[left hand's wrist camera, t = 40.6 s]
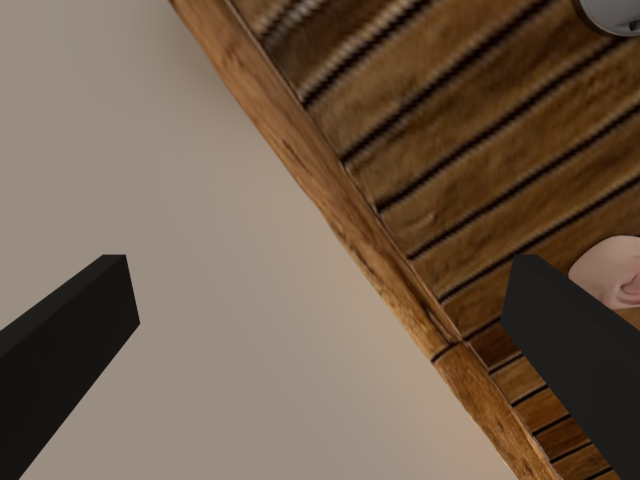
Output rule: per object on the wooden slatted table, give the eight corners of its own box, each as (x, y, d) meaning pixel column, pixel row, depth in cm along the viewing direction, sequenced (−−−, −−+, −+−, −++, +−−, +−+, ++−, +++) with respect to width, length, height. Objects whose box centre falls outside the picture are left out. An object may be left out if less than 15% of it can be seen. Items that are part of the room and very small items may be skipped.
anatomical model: (572, 301, 51) (627, 229, 47) (555, 287, 55) (605, 219, 51) (649, 332, 53) (709, 264, 49) (628, 316, 57) (681, 252, 53)
